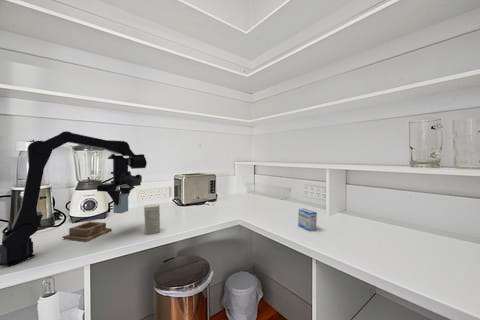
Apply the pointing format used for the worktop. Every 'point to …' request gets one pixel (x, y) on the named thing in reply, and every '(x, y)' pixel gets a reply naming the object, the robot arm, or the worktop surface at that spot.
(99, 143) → the robot arm
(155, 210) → the skincare box
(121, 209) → the slate peg
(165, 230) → the worktop surface
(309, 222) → the medicine box
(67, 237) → the walnut socket
